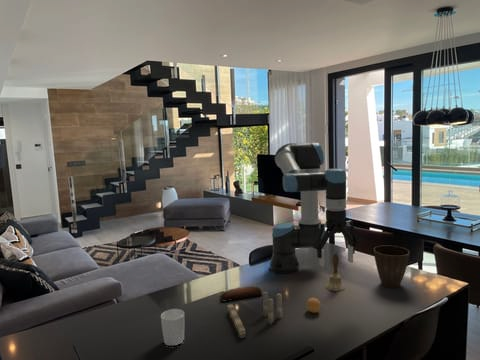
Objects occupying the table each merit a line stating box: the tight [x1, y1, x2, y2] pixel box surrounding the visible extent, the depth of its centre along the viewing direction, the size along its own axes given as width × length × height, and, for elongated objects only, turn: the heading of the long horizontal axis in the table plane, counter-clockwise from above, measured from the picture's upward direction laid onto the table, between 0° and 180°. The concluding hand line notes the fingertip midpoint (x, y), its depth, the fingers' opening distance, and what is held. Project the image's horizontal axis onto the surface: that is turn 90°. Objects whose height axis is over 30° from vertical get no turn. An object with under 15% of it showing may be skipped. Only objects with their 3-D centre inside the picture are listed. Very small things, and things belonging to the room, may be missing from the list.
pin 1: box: [262, 291, 269, 318], centre depth 139 cm, size 2×2×9 cm
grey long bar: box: [227, 304, 247, 335], centre depth 134 cm, size 20×2×3 cm, turn 14°
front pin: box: [275, 293, 283, 320], centre depth 138 cm, size 2×2×9 cm
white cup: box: [160, 308, 185, 346], centre depth 124 cm, size 8×8×10 cm
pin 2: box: [267, 298, 275, 323], centre depth 134 cm, size 2×2×9 cm
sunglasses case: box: [220, 286, 263, 301], centre depth 158 cm, size 18×7×7 cm
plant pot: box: [373, 245, 411, 289], centre depth 163 cm, size 15×15×16 cm
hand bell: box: [325, 252, 346, 292], centre depth 162 cm, size 8×8×16 cm
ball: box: [306, 297, 322, 314], centre depth 141 cm, size 6×6×6 cm
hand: (336, 263), depth 141 cm, fingers open, 12 cm apart
